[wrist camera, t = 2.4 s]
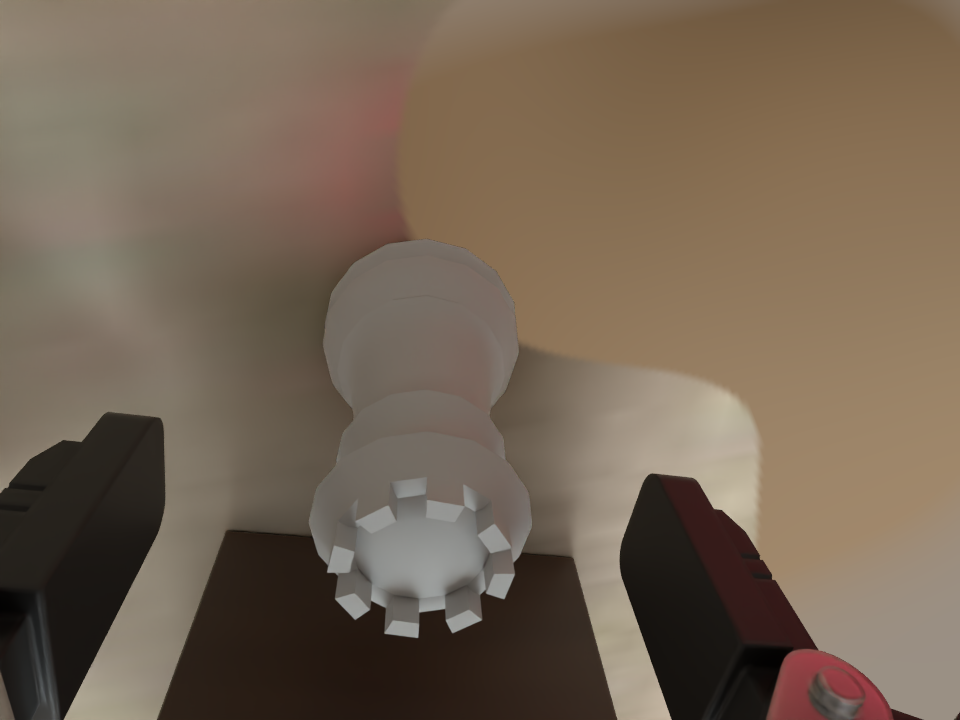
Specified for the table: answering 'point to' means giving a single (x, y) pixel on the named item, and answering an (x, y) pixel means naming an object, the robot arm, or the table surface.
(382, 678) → the tray
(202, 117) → the table surface
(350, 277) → the rook chess piece
